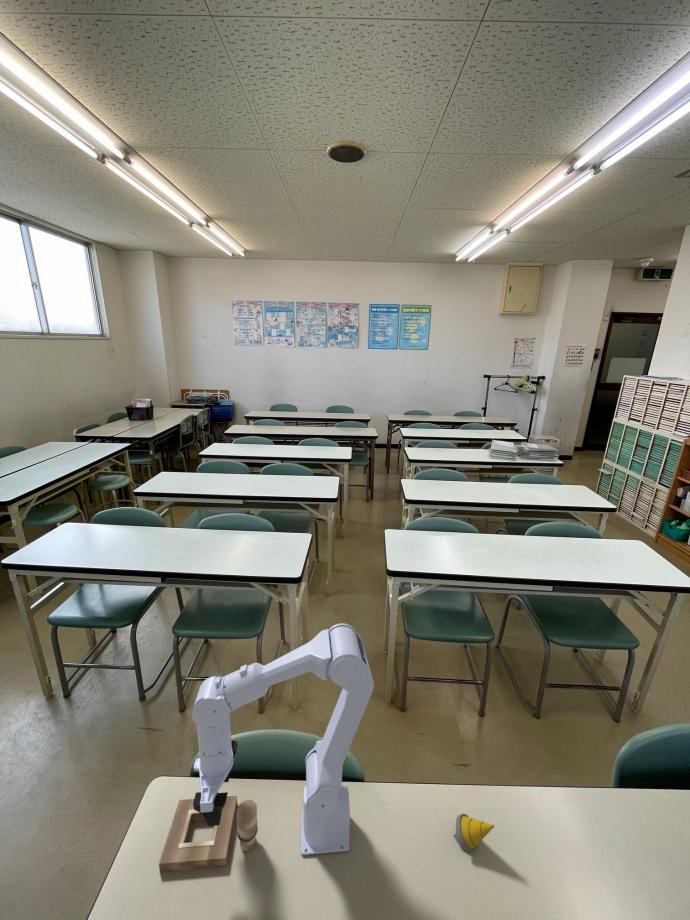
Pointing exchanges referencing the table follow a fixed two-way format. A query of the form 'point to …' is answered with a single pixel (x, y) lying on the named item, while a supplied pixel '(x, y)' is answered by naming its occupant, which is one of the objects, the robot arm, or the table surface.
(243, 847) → the peg
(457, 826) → the yellow striped cone
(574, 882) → the table surface
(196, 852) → the board
